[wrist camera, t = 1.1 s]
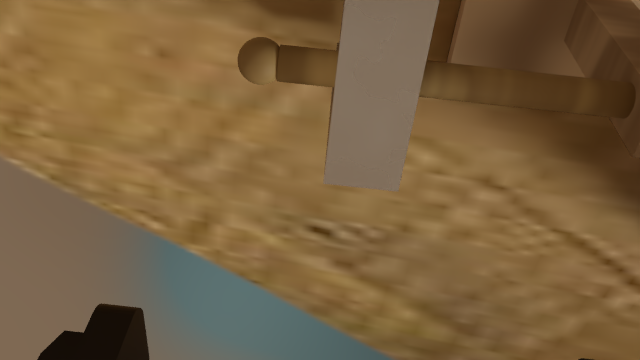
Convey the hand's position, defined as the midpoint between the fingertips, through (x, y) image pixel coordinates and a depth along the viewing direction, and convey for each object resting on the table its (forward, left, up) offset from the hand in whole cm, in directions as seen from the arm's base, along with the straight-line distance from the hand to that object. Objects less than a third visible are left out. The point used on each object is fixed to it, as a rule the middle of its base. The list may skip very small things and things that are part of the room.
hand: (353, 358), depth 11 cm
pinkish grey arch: (-1, +1, -20) cm, 20 cm away
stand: (-5, +2, -23) cm, 24 cm away
